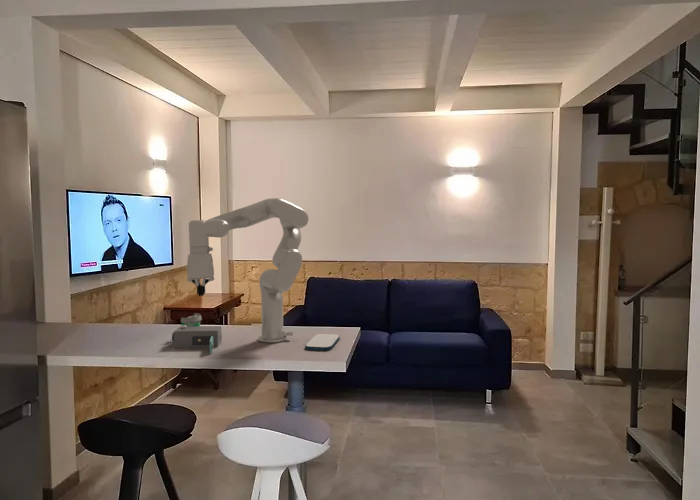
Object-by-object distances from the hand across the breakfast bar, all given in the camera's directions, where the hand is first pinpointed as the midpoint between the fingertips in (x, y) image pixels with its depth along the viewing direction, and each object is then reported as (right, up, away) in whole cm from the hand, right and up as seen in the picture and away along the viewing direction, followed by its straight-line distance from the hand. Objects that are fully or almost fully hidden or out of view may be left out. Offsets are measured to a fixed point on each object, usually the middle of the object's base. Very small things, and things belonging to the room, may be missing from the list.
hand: (201, 295), depth 204 cm
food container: (-11, -22, +25) cm, 35 cm away
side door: (+4, -23, +1) cm, 23 cm away
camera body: (-5, -22, +11) cm, 25 cm away
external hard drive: (+49, -23, +13) cm, 56 cm away
